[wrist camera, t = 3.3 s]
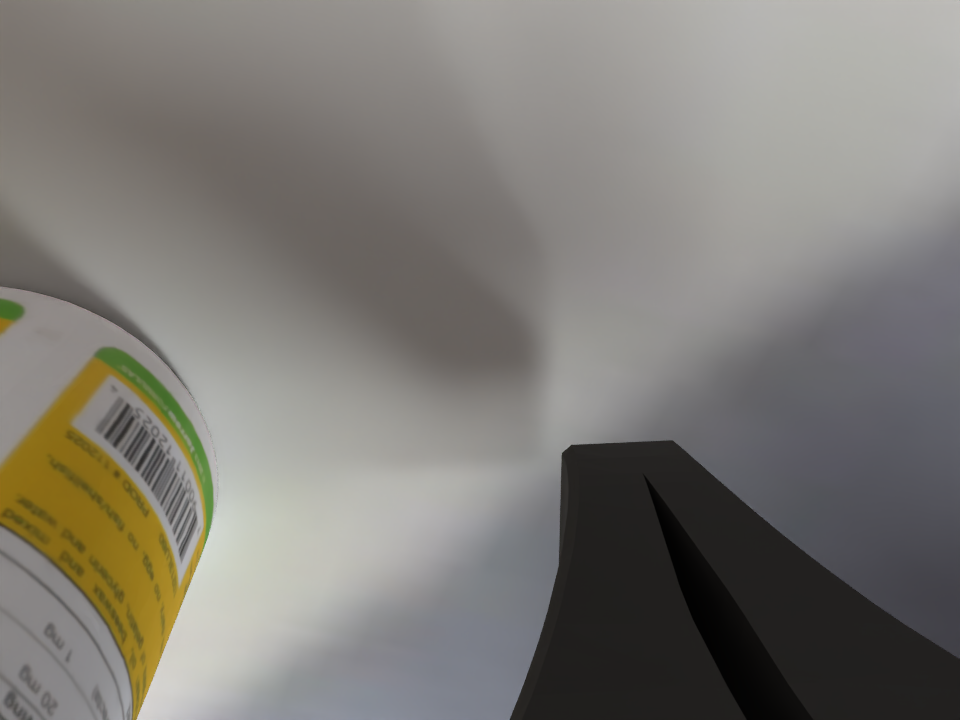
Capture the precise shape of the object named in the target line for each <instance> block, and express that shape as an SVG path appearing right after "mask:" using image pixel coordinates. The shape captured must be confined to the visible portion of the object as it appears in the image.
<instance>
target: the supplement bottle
mask: <svg viewBox="0 0 960 720" xmlns="http://www.w3.org/2000/svg"><path fill="white" fill-rule="evenodd" d="M217 496H218V470H217V461H216V456H215V451H214V447H213V443H212V439H211V435H210V433H209V430H208V428H207V425H206V423H205V420H204V418H203V416H202V414H201V412H200V410H199V408H198V406H197V405H196V403H195V402H194V400H193V398H192V397H191V395H190V394H189V392H188V391H187V389H186V388H185V386H184V385H183V384H182V383H181V382H180V380H179V379H178V378H177V377H176V375H175V374H174V373H173V372H172V370H171V369H170V368H169V367H168V366H167V365H166V364H165V363H164V362H163V361H162V360H161V359H160V358H159V357H158V356H157V355H156V354H155V353H154V352H153V351H152V350H150V349H149V348H148V347H147V346H146V345H144V344H143V343H142V342H141V341H140V340H138V339H137V338H135V337H134V336H132V335H131V334H129V333H128V332H126V331H125V330H124V329H122V328H121V327H119V326H117V325H116V324H114V323H112V322H110V321H109V320H107V319H105V318H103V317H101V316H99V315H97V314H95V313H93V312H91V311H89V310H86V309H84V308H82V307H79V306H77V305H74V304H72V303H69V302H67V301H63V300H60V299H57V298H54V297H51V296H47V295H43V294H39V293H35V292H31V291H26V290H21V289H15V288H7V287H0V720H136V719H137V717H138V714H139V712H140V709H141V707H142V704H143V702H144V699H145V697H146V694H147V692H148V689H149V687H150V684H151V682H152V679H153V677H154V674H155V672H156V669H157V666H158V664H159V661H160V658H161V656H162V653H163V651H164V648H165V646H166V643H167V641H168V638H169V636H170V633H171V630H172V628H173V625H174V623H175V620H176V618H177V615H178V613H179V610H180V607H181V605H182V602H183V600H184V597H185V595H186V592H187V590H188V587H189V585H190V582H191V580H192V577H193V575H194V572H195V570H196V567H197V565H198V562H199V560H200V557H201V554H202V552H203V549H204V546H205V543H206V540H207V538H208V534H209V531H210V528H211V525H212V522H213V519H214V515H215V510H216V506H217Z"/></svg>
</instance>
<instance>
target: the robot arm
mask: <svg viewBox="0 0 960 720" xmlns="http://www.w3.org/2000/svg"><path fill="white" fill-rule="evenodd" d="M510 720H960V659H958V658H957V657H955V656H954V655H952V654H950V653H949V652H947V651H946V650H944V649H943V648H941V647H939V646H938V645H936V644H935V643H933V642H932V641H930V640H928V639H927V638H925V637H924V636H922V635H920V634H919V633H917V632H916V631H914V630H913V629H911V628H909V627H908V626H906V625H905V624H903V623H902V622H900V621H899V620H897V619H896V618H894V617H893V616H891V615H890V614H888V613H887V612H885V611H884V610H882V609H881V608H880V607H878V606H877V605H875V604H874V603H872V602H871V601H869V600H868V599H867V598H865V597H864V596H863V595H861V594H860V593H859V592H857V591H856V590H854V589H853V588H852V587H850V586H849V585H848V584H846V583H845V582H844V581H842V580H841V579H839V578H838V577H837V576H835V575H834V574H833V573H831V572H830V571H828V570H827V569H826V568H824V567H823V566H822V565H820V564H819V563H818V562H816V561H815V560H814V559H813V558H811V557H810V556H809V555H807V554H806V553H805V552H804V551H802V550H801V549H800V548H798V547H797V546H796V545H795V544H793V543H792V542H791V541H790V540H788V539H787V538H786V537H785V536H783V535H782V534H781V533H780V532H779V531H777V530H776V529H775V528H774V527H772V526H771V525H770V524H769V523H768V522H766V521H765V520H764V519H763V518H762V517H760V516H759V515H758V514H757V513H756V512H754V511H753V510H752V509H751V508H750V507H749V506H747V505H746V504H745V503H744V502H743V501H742V500H740V499H739V498H738V497H737V496H736V495H735V494H733V493H732V492H731V491H730V490H729V489H728V488H727V487H725V486H724V485H723V484H722V483H721V482H720V481H719V480H717V479H716V478H715V477H714V476H713V475H712V474H711V473H709V472H708V471H707V470H706V469H705V468H704V467H703V466H702V465H700V464H699V463H698V462H697V461H696V460H695V459H694V458H693V457H691V456H690V455H689V454H688V453H687V452H686V451H684V450H683V449H682V448H681V447H680V446H679V445H677V444H676V443H675V442H674V441H672V440H671V441H649V442H627V443H605V444H583V445H571V446H570V447H569V448H568V449H566V450H565V451H564V452H563V453H562V467H561V506H560V546H559V567H558V571H557V575H556V580H555V584H554V588H553V592H552V596H551V600H550V604H549V608H548V612H547V615H546V619H545V622H544V625H543V629H542V632H541V635H540V639H539V642H538V645H537V648H536V651H535V654H534V657H533V660H532V663H531V665H530V668H529V671H528V674H527V677H526V680H525V682H524V685H523V688H522V690H521V693H520V695H519V698H518V700H517V703H516V705H515V708H514V710H513V713H512V715H511V718H510Z"/></svg>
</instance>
